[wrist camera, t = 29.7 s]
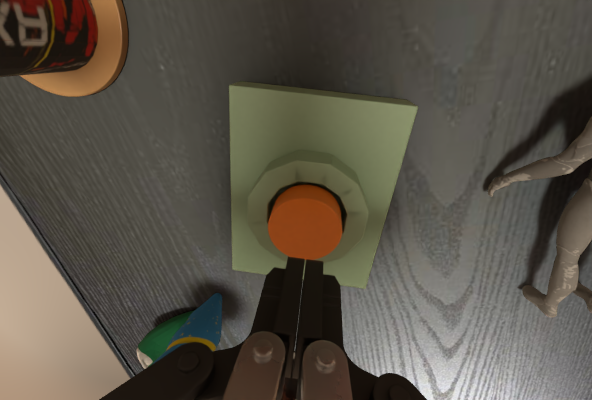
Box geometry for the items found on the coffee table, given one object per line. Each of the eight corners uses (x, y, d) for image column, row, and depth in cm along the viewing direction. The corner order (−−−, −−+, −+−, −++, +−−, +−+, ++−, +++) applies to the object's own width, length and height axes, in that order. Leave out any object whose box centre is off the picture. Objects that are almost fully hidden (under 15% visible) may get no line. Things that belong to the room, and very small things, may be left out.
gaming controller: (186, 294, 29) (125, 335, 26) (198, 312, 26) (131, 361, 23) (222, 351, 33) (172, 392, 30) (236, 373, 30) (182, 421, 27)
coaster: (-62, -103, 14) (-77, -109, 14) (109, -88, 14) (100, -94, 13) (8, 87, 18) (-2, 88, 18) (140, 103, 18) (134, 104, 18)
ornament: (247, 280, 24) (153, 550, 11) (245, 319, 27) (165, 578, 14) (189, 270, 25) (28, 525, 11) (192, 310, 27) (63, 558, 14)
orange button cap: (275, 179, 16) (269, 193, 14) (346, 188, 16) (348, 203, 14) (271, 237, 18) (266, 255, 16) (335, 246, 17) (335, 265, 16)
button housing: (239, 80, 17) (216, 88, 13) (408, 99, 16) (429, 113, 13) (240, 251, 23) (224, 287, 19) (362, 268, 23) (368, 309, 19)
